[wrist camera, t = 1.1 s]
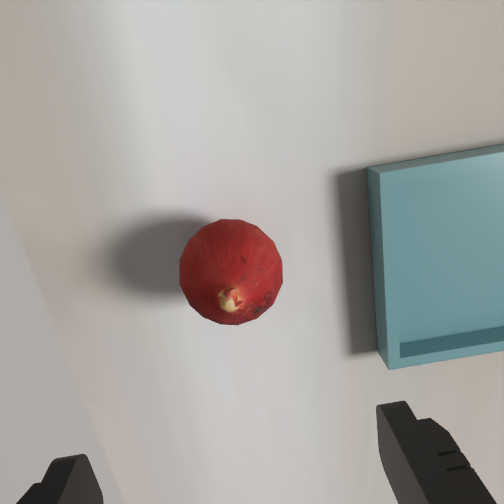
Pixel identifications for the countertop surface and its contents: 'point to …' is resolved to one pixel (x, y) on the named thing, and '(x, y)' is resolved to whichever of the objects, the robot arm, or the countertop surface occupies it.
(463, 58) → the countertop surface
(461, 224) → the tray
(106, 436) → the countertop surface
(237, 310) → the onion
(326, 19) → the countertop surface
